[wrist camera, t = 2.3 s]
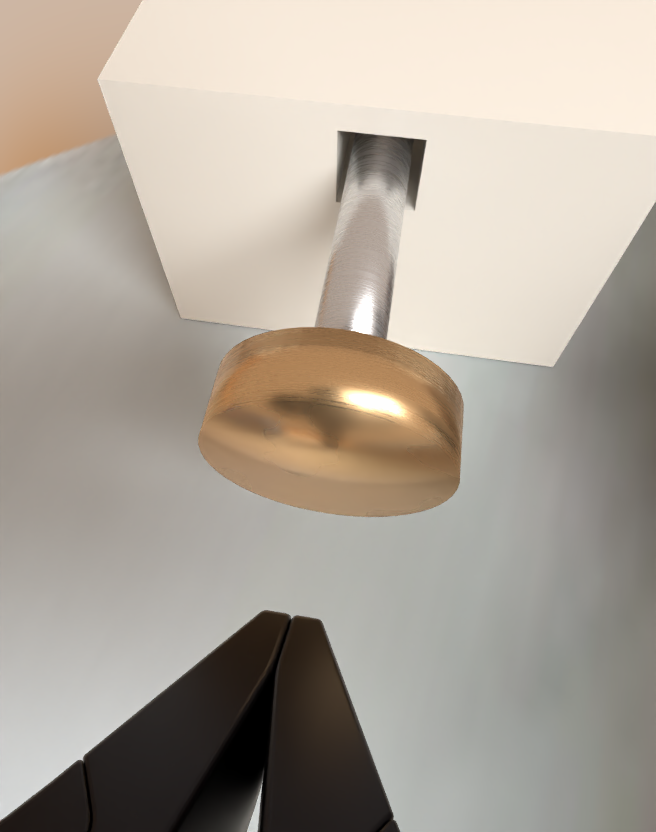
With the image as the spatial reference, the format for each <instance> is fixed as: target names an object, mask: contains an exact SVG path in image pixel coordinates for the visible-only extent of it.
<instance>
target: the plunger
mask: <svg viewBox="0 0 656 832" xmlns="http://www.w3.org/2000/svg"><path fill="white" fill-rule="evenodd" d="M413 143H414V139H413V138H404V137H394V136H385V135H375V134H366V133H355V137H354V142H353V147H352V151H351V156H350V161H349V166H348V170H347V175H346V180H345V185H344V189H343V194H342V199H341V204H340V208H339V213H338V218H337V223H336V227H335V232H334V237H333V241H332V246H331V251H330V256H329V260H328V265H327V270H326V275H325V279H324V284H323V289H322V294H321V298H320V303H319V308H318V313H317V317H316V322H315V327H298V328H286V329H280V330H275V331H269V332H266V333H262V334H259V335H256V336H253V337H251V338H249V339H247V340H244V341H242V342H241V343H239V344H238V345H236V346H235V347H233V348H232V349H231V350H230V351H229V352H228V353H227V354H226V355H225V357H224V358H223V360H222V361H221V363H220V366H219V369H218V373H217V376H216V379H215V383H214V386H213V390H212V393H211V396H210V400H209V403H208V406H207V410H206V413H205V417H204V420H203V423H202V427H201V430H200V434H199V437H198V445H199V448H200V451H201V453H202V455H203V457H204V458H205V460H206V461H207V462H208V463H209V464H210V465H211V466H212V467H213V468H214V469H215V470H216V471H217V472H218V473H220V474H221V475H223V476H224V477H225V478H227V479H228V480H230V481H232V482H233V483H235V484H237V485H239V486H241V487H243V488H245V489H247V490H249V491H251V492H253V493H256V494H258V495H260V496H263V497H266V498H268V499H271V500H274V501H277V502H280V503H284V504H287V505H291V506H294V507H298V508H303V509H307V510H312V511H317V512H323V513H329V514H337V515H346V516H361V517H385V516H398V515H406V514H412V513H417V512H421V511H424V510H428V509H431V508H433V507H436V506H438V505H440V504H442V503H443V502H445V501H447V500H448V499H449V498H450V497H452V496H453V494H454V493H455V492H456V490H457V489H458V486H459V483H460V465H461V447H462V429H463V406H464V404H463V400H462V396H461V393H460V391H459V389H458V387H457V386H456V384H455V383H454V382H453V380H452V379H451V378H450V377H449V376H448V375H447V374H446V373H445V372H444V371H443V370H442V369H441V368H440V367H439V366H437V365H436V364H435V363H433V362H432V361H430V360H429V359H428V358H426V357H424V356H422V355H421V354H419V353H417V352H415V351H413V350H411V349H409V348H407V347H405V346H402V345H400V344H398V343H395V342H392V341H389V340H387V334H388V326H389V319H390V312H391V304H392V297H393V290H394V282H395V275H396V268H397V260H398V253H399V246H400V238H401V231H402V224H403V216H404V209H405V202H406V194H407V187H408V180H409V172H410V165H411V158H412V150H413Z"/></svg>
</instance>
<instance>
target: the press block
mask: <svg viewBox="0 0 656 832" xmlns="http://www.w3.org/2000/svg"><path fill="white" fill-rule="evenodd" d="M98 83H99V86H100V88H101V91H102V94H103V97H104V100H105V103H106V106H107V108H108V111H109V114H110V117H111V120H112V123H113V125H114V128H115V131H116V134H117V137H118V140H119V143H120V146H121V148H122V151H123V154H124V157H125V160H126V163H127V166H128V168H129V171H130V174H131V177H132V180H133V183H134V186H135V189H136V191H137V194H138V197H139V200H140V203H141V206H142V209H143V211H144V214H145V217H146V220H147V223H148V226H149V229H150V231H151V234H152V237H153V240H154V243H155V246H156V249H157V251H158V254H159V257H160V260H161V263H162V266H163V269H164V271H165V274H166V277H167V280H168V283H169V286H170V289H171V291H172V294H173V297H174V300H175V303H176V306H177V309H178V311H179V314H180V317H181V318H183V319H190V320H198V321H205V322H213V323H221V324H228V325H236V326H243V327H251V328H259V329H266V330H274V331H275V330H280V329H286V328H298V327H315V322H316V317H317V313H318V308H319V303H320V298H321V294H322V289H323V284H324V279H325V275H326V270H327V265H328V260H329V256H330V251H331V246H332V241H333V237H334V232H335V227H336V223H337V218H338V213H339V208H340V204H341V199H342V194H343V189H344V185H345V180H346V175H347V170H348V166H349V161H350V156H351V151H352V147H353V142H354V137H355V133H366V134H375V135H385V136H394V137H404V138H413V139H414V143H413V150H412V158H411V165H410V172H409V180H408V187H407V194H406V202H405V209H404V216H403V224H402V231H401V238H400V246H399V253H398V260H397V268H396V275H395V282H394V290H393V297H392V304H391V312H390V319H389V326H388V334H387V340H389V341H392V342H395V343H398V344H400V345H402V346H405V347H407V348H411V349H419V350H426V351H434V352H441V353H449V354H457V355H464V356H472V357H480V358H487V359H495V360H502V361H510V362H518V363H525V364H533V365H540V366H548V367H553V366H554V365H555V363H556V362H557V360H558V358H559V357H560V355H561V353H562V352H563V350H564V349H565V347H566V345H567V344H568V342H569V341H570V339H571V337H572V336H573V334H574V332H575V331H576V329H577V328H578V326H579V324H580V323H581V321H582V319H583V318H584V316H585V315H586V313H587V311H588V310H589V308H590V307H591V305H592V303H593V302H594V300H595V298H596V297H597V295H598V294H599V292H600V290H601V289H602V287H603V286H604V284H605V282H606V281H607V279H608V277H609V276H610V274H611V273H612V271H613V269H614V268H615V266H616V265H617V263H618V261H619V260H620V258H621V256H622V255H623V253H624V252H625V250H626V248H627V247H628V245H629V244H630V242H631V240H632V239H633V237H634V235H635V234H636V232H637V231H638V229H639V227H640V226H641V224H642V222H643V221H644V219H645V218H646V216H647V214H648V213H649V211H650V210H651V208H652V206H653V205H654V203H655V201H656V0H143V1H142V2H141V4H140V6H139V7H138V9H137V11H136V13H135V15H134V16H133V18H132V19H131V21H130V23H129V25H128V27H127V28H126V30H125V32H124V33H123V35H122V37H121V39H120V40H119V42H118V44H117V46H116V47H115V49H114V51H113V53H112V54H111V56H110V58H109V59H108V61H107V63H106V65H105V66H104V68H103V70H102V72H101V73H100V75H99V77H98Z"/></svg>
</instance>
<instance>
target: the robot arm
mask: <svg viewBox="0 0 656 832" xmlns="http://www.w3.org/2000/svg"><path fill="white" fill-rule="evenodd" d="M262 781H263V783H262ZM261 785H262V793H261V802H260V813H259V823H258V832H400V830H399V828H398V825H397V823H396V821H395V820H393V817H394V816H393V812H392V810H391V807H390V804H389V801H388V799H387V796H386V793H385V791H384V788H383V785H382V782H381V780H380V777H379V774H378V772H377V769H376V766H375V764H374V761H373V758H372V755H371V753H370V750H369V747H368V745H367V742H366V739H365V736H364V734H363V731H362V728H361V726H360V723H359V720H358V718H357V715H356V712H355V709H354V707H353V704H352V701H351V699H350V696H349V693H348V690H347V688H346V685H345V682H344V680H343V677H342V674H341V672H340V669H339V666H338V663H337V661H336V658H335V655H334V653H333V650H332V647H331V644H330V642H329V639H328V636H327V634H326V631H325V628H324V626H323V623H322V621H321V620H319V619H316V618H310V617H304V616H294V617H293V618H292V619H291V616H290V615H289V614H286V613H280V612H274V611H268V610H264V611H262V612H260V613H259V614H258V615H257V616H255V617H254V618H253V619H252V620H250V621H249V622H248V623H247V624H245V625H244V626H243V627H242V628H240V629H239V630H238V631H237V632H236V633H234V634H233V635H232V636H231V637H229V638H228V639H227V640H226V641H224V642H223V643H222V644H221V645H220V646H218V647H217V648H216V649H215V650H213V651H212V652H211V653H210V654H208V655H207V656H206V657H205V658H204V659H202V660H201V661H200V662H199V663H197V664H196V665H195V666H194V667H192V668H191V669H190V670H189V671H188V672H186V673H185V674H184V675H183V676H181V677H180V678H179V679H178V680H176V681H175V682H174V683H173V684H172V685H170V686H169V687H168V688H167V689H165V690H164V691H163V692H162V693H160V694H159V695H158V696H157V697H156V698H154V699H153V700H152V701H151V702H149V703H148V704H147V705H146V706H144V707H143V708H142V709H141V710H139V711H138V712H137V713H136V714H135V715H133V716H132V717H131V718H130V719H128V720H127V721H126V722H125V723H123V724H122V725H121V726H120V727H119V728H117V729H116V730H115V731H114V732H112V733H111V734H110V735H109V736H107V737H106V738H105V739H104V740H103V741H101V742H100V743H99V744H98V745H96V746H95V747H94V748H93V749H91V750H90V751H89V752H88V753H87V754H85V755H84V757H83V761H82V760H78V761H76V762H75V763H74V764H73V765H71V766H70V767H69V768H68V769H66V770H65V771H64V772H63V773H61V774H60V775H59V776H58V777H57V778H55V779H54V780H53V781H52V782H50V783H49V784H48V785H46V786H45V787H44V788H43V789H41V790H40V791H39V792H37V793H36V794H35V795H33V796H32V797H31V798H30V799H28V800H27V801H26V802H24V803H23V804H22V805H21V806H19V807H18V808H17V809H15V810H14V811H13V812H11V813H10V814H9V815H8V816H6V817H5V818H3V819H2V820H1V821H0V832H247V829H248V826H249V823H250V820H251V817H252V814H253V811H254V808H255V805H256V802H257V798H258V795H259V792H260V789H261Z"/></svg>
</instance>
